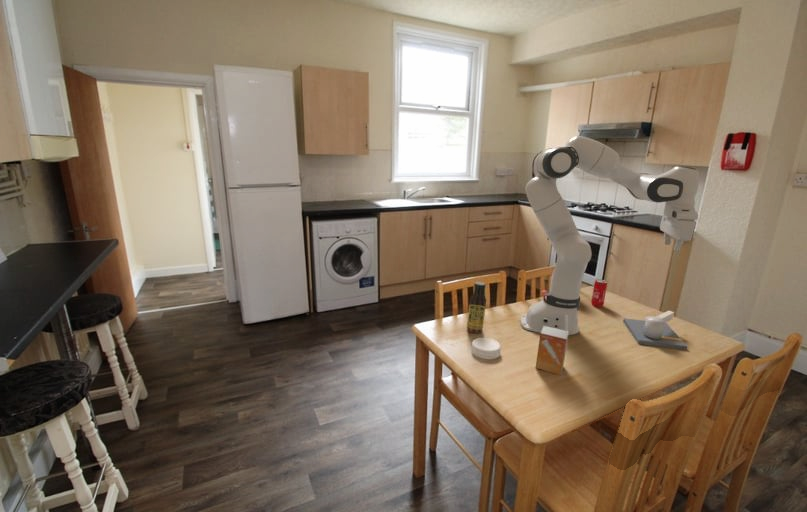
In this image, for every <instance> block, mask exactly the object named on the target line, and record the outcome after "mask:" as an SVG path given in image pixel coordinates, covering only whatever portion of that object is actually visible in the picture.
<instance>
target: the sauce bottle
mask: <svg viewBox="0 0 807 512" xmlns="http://www.w3.org/2000/svg"><path fill="white" fill-rule="evenodd" d="M473 286H474V291H473V294H472V296H470V298H469V299H470V301H469V306H468V313H467V322H466V329H467V331H468V332H469V333H473V334H478V333H479V334H480V333H481V332H482V331H483V328H484V320H485V314H486V305H487V304H486V303H487V298H486V297H485V288H486V283H485V282H483V281H475V282H474V285H473Z"/></svg>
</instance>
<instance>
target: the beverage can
mask: <svg viewBox="0 0 807 512" xmlns="http://www.w3.org/2000/svg"><path fill="white" fill-rule="evenodd" d="M607 287H608V282H607V281H606V280H605V279H595V280H594V285H593V288H592V289H593V290H592V295H591V306H593V307H597V308H602V307H603V305H605V304H604V303H605V298H606V292H607Z"/></svg>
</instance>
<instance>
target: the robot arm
mask: <svg viewBox="0 0 807 512" xmlns="http://www.w3.org/2000/svg"><path fill="white" fill-rule="evenodd" d="M620 160H621V159H620V156H619V153H618V152H617V151H615V150H614V149H613V148H611V147H610V146H608V145H607V144H604V143H602V142H600V141H597V140H595V139H593V138H590V137H586V136H584V135H583V136H582V135H575V136H574V137H573V136H572V138H570V139H569V140H568V141H567V142H566V144H565V146H560V147H551V148H546V149H544V150H541V151H540V152H538V153H537V154H536V155H535V157H534V158H533V161H532V164H531V165H532V166H531V167H532V171H531V172H532V173H531V177H532V178H531V179H530V180H529V181H528V182H527V183H526V185H525V187H524V188H525V193H526V194H525V195H526V197H527V200H528V202H529V205H530V207H531V209H532V210H533V213H534V214H535V216H536V218H537V219H538V221H539V224H540V226H541V227H542V229H543V231H544V233H545V235H546V237H547V238H548V241H549V242H550V244H551V247H552V248H553V250H554V251H555V253H556V255H557V256H556V262H555V266H554V268H553V272H552V274H551V280H550V286H549V287H550V288H549V291H547V290H546V289H544V290H542V291H541V294H542V296H543V299H542V300H540V301H538V302H536V303H533V304H532V305H530V306H529V308H528V310H527V312H526V313H525V314H522V315H521V317H520V320H519V323H520V326H521V327H522V329H524V330H526V331H530V332H534V333H541V331H542V329H543V326H546V327H551V328H556V329H560V330H564V331H569V335H568V336H572V335H573V336H574V335H576V334H578V333H579V331H580V330H579V329H580V328H579V323H578V322H579V321H578V318H579V316H578V313H579V309H580V307H581V297H580V295H581V289H582V282H583V278H584V274H585V272H586V270H587V266H588V263H589V262H590V261H591V259H592V253H593V252H592V248H591V245H590V243H589V242H588V241H587V240H586V239H585V238H584V237H583V236H582V235H581V233H580V232H579V230H578V228H577V226H576V224H575V221H574V219H573V216H572V214H571V212H570V209H569V208H568V206H567V204H566V203H565V200H564V199H563V197H562V195H561V193H560V192H559V190H558V187H557V179H562V178H564V177H566V176H567V175H569V173H571V172H572V171H573V170H574V169H575V168H576V169H579V170H581V171H583V172H585V173H587V174H589V175H592V176H595V177H598V178H602V179H609V180H611V181H613V182H614V183H618V184H619V185H621V186H623V187H625V188H626V189H627V190H628V192H629V193H630V195H631V196H632V197H633V198H635V199H637V200H643V201H648V202H652V203H656V204H659V203H660V204H661V203H665V204H664V210H663V214H662V218H661V220H660V225H659V230H660V231H661V232H663V238H664V239H663V240H664V241H663V244H664V245H666V246H670V245H671V243H672V240H671V237H672V238H674V239H675V244H674V245H673V250H674V251H676V252H680V251H681V248H682V246H683V244H684V243H685V242H690V241H691V239H692V238H693V235H694V231H695V228H696V221H697V220H698V218H699V213H698V212H697V210H696V207H695V205H696V201H695V198H696V195H697V193H698V189H699V185H700V184H699V182H700V173H699V170H698V169H696V168H694V167H692V166H691V167H690V166H682V165H676V166H674V167H673V168H671V169H670V170H668V171H666V172H664V173H661V174H658V175H657V174H650V173H646V172H645V173H639V172H636V171H633V170H632V169H631V168H629V167H626V166H625V165H623V164H622V163H620Z"/></svg>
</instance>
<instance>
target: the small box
mask: <svg viewBox="0 0 807 512" xmlns="http://www.w3.org/2000/svg"><path fill="white" fill-rule="evenodd" d="M569 336H570V335H569V331H564V330H560V329H556V328H551V327H546V326H543V329H542V331H541V333H540V334H539V341H538V346H537V347H538V349H537V353H536V363H535V369H538V370H543V371H545V372H549V373H553V374H556V375H559V376H561V375H562V372H563V369H564V364H565V359H566V354H567V353H566V352H567V348H568V347H567V346H568V341H569Z"/></svg>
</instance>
